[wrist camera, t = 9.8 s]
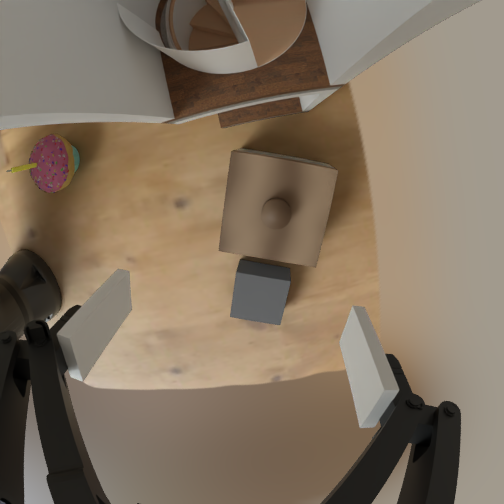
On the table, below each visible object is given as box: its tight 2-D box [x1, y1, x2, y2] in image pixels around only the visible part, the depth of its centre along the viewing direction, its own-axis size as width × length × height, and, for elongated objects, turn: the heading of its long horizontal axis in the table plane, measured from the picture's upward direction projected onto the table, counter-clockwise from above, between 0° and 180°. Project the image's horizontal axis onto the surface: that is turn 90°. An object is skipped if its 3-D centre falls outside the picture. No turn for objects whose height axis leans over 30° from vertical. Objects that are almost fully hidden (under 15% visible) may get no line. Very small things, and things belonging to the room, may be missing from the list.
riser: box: [230, 260, 291, 325], centre depth 41 cm, size 7×7×4 cm
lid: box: [219, 150, 338, 267], centre depth 31 cm, size 11×11×4 cm
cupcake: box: [6, 134, 80, 193], centre depth 32 cm, size 9×8×12 cm
